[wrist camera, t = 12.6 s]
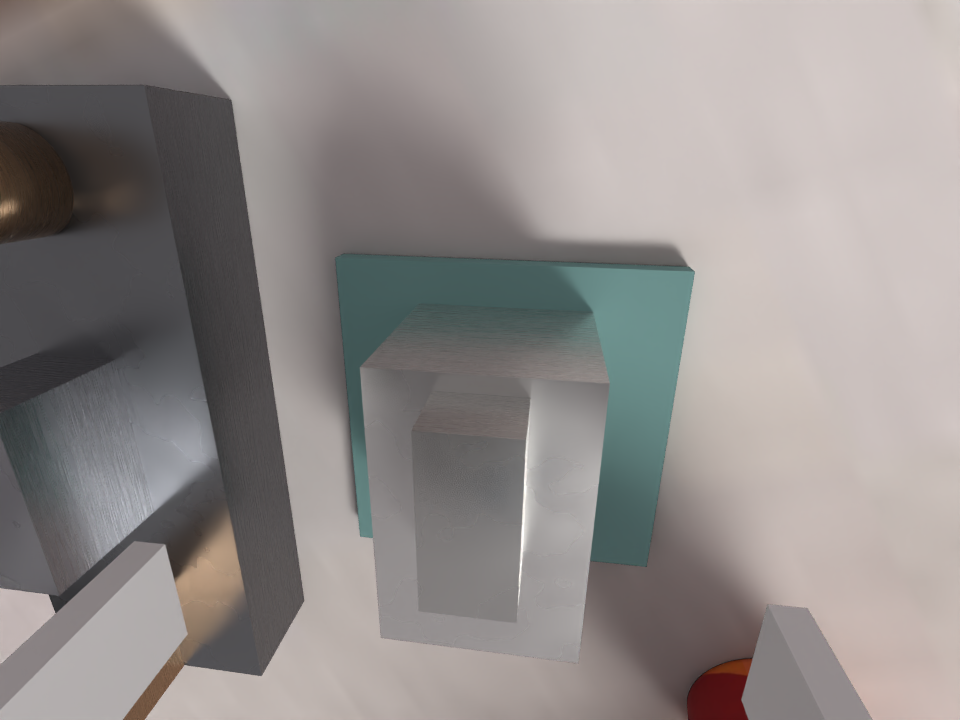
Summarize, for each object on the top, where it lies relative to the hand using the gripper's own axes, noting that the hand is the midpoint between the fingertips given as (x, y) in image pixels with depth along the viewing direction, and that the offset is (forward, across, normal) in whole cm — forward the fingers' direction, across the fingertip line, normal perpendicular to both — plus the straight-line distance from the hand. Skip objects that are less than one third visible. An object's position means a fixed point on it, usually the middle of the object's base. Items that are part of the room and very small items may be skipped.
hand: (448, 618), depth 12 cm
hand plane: (+10, -14, 0) cm, 17 cm away
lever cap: (+9, 0, 0) cm, 9 cm away
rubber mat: (+10, 0, 0) cm, 10 cm away
